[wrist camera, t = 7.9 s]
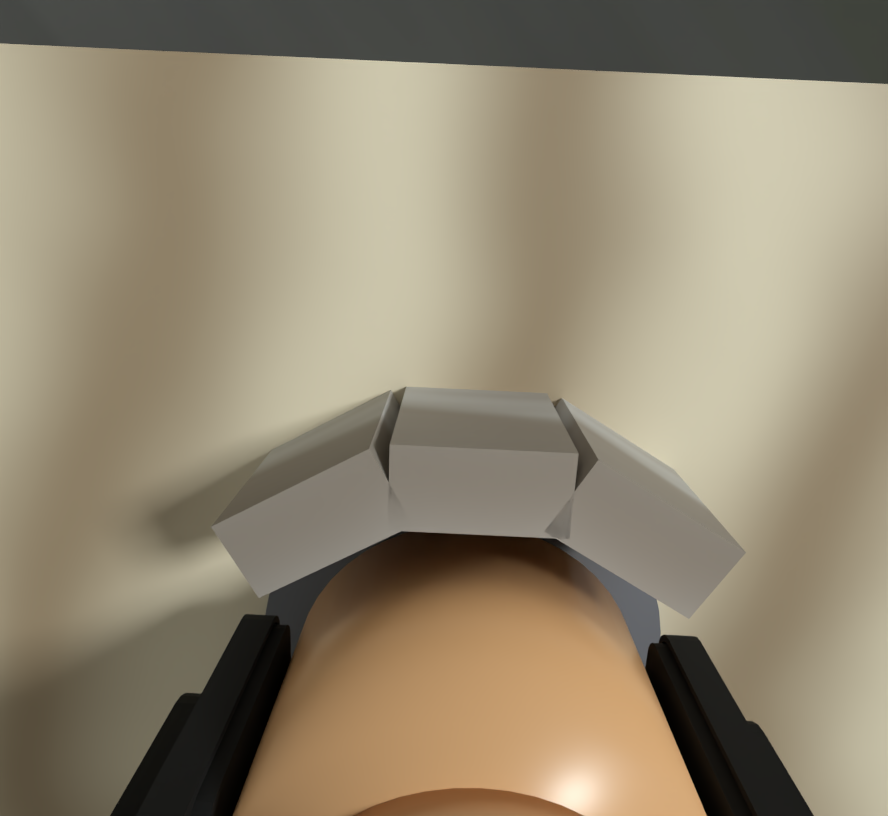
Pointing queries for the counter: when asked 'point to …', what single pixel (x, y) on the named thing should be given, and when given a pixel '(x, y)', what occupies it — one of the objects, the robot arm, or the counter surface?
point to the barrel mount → (434, 374)
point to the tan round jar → (466, 693)
